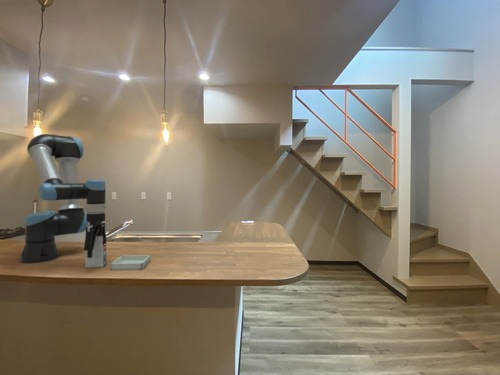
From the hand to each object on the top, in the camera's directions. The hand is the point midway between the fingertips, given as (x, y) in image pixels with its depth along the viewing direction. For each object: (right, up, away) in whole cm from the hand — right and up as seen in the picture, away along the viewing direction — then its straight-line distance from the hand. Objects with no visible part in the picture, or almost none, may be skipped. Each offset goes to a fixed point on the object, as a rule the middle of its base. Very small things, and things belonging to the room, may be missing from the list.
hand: (96, 261), depth 123 cm
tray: (+15, -3, +3) cm, 16 cm away
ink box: (0, -3, 0) cm, 3 cm away
